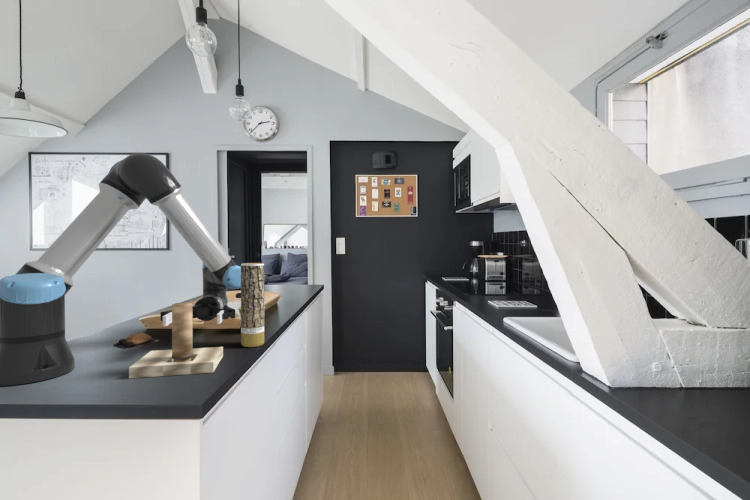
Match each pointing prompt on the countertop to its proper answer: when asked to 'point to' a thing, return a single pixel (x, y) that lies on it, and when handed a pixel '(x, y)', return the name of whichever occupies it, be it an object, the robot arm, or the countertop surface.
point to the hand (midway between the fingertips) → (191, 320)
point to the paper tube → (252, 304)
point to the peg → (182, 332)
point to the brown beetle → (135, 341)
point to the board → (176, 363)
